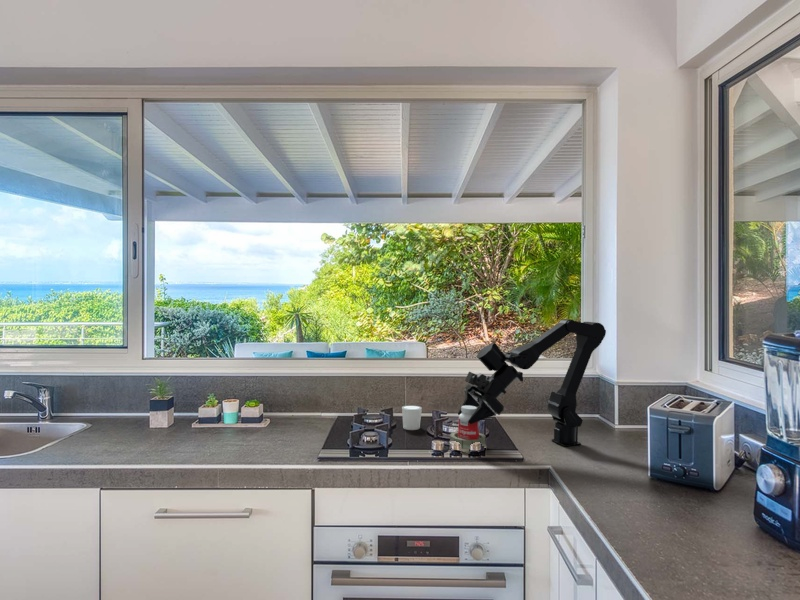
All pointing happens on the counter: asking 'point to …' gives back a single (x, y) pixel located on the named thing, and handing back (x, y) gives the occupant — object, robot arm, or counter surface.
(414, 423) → the white cup
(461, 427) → the pill bottle
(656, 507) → the counter surface
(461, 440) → the ring holder
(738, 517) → the counter surface
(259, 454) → the counter surface
